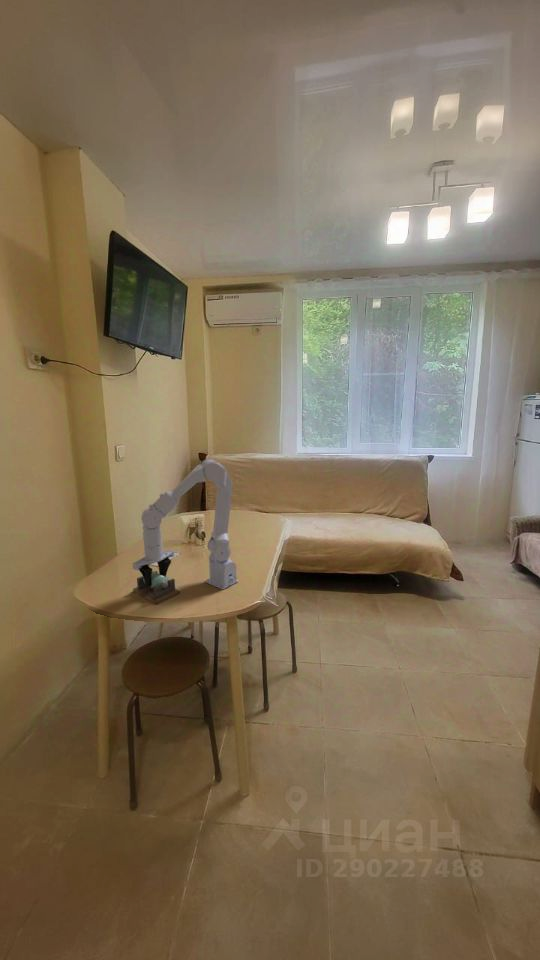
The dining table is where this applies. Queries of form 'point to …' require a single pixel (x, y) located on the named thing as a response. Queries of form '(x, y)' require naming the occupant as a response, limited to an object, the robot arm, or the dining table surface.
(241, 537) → the dining table surface
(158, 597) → the holder
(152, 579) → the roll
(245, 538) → the dining table surface
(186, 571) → the dining table surface
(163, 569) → the robot arm
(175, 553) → the smartphone
